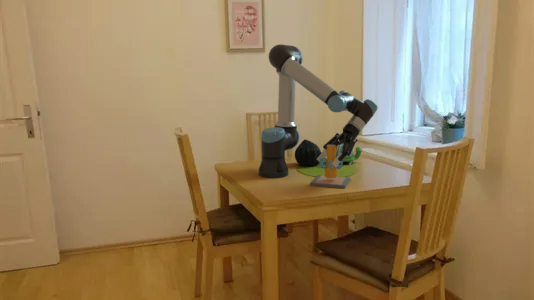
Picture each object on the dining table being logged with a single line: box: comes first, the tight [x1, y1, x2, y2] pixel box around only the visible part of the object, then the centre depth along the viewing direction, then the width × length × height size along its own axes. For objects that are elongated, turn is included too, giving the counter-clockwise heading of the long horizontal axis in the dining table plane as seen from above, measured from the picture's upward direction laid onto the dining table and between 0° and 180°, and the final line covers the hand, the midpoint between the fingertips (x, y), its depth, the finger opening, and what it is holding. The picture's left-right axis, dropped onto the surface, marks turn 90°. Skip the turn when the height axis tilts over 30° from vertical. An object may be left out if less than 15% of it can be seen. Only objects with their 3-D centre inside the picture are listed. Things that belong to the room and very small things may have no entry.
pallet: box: [309, 175, 352, 189], centre depth 198 cm, size 16×16×1 cm
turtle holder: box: [336, 144, 363, 165], centre depth 242 cm, size 12×18×12 cm
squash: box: [294, 139, 322, 167], centre depth 237 cm, size 14×15×15 cm
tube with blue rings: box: [318, 145, 344, 178], centre depth 196 cm, size 12×10×15 cm
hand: (326, 163), depth 195 cm, fingers closed on tube with blue rings, 11 cm apart
